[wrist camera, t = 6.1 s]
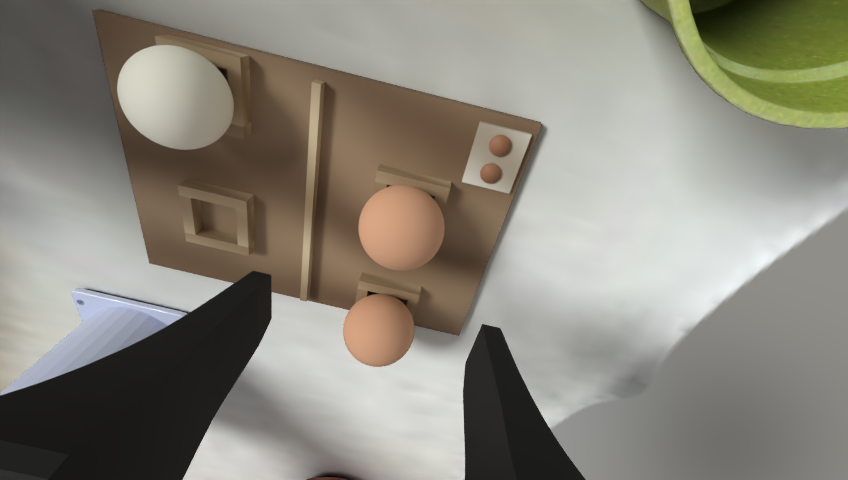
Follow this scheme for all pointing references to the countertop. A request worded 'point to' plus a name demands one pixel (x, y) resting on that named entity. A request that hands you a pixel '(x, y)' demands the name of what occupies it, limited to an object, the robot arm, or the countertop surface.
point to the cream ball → (175, 97)
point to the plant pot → (769, 55)
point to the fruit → (327, 478)
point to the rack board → (319, 177)
